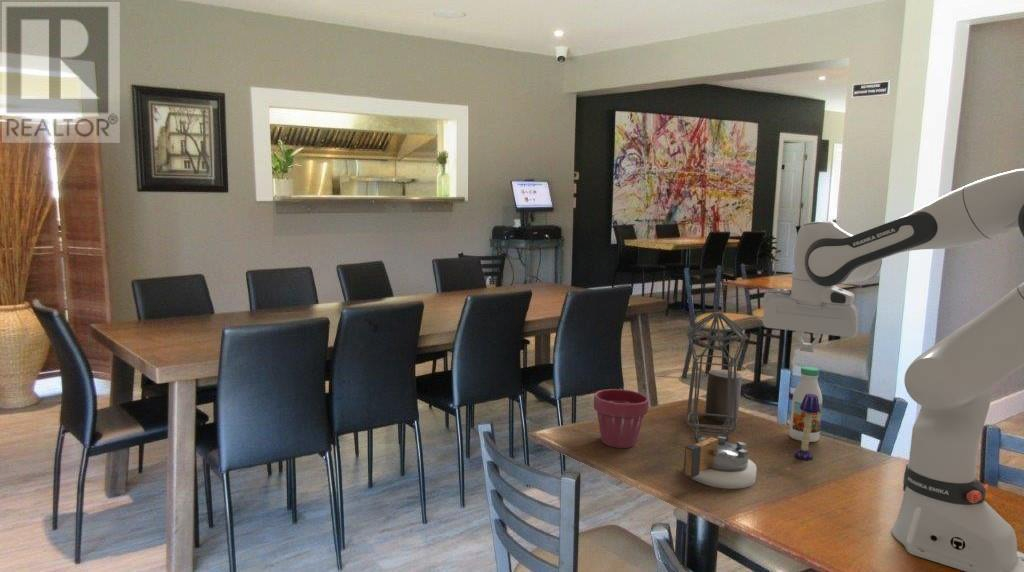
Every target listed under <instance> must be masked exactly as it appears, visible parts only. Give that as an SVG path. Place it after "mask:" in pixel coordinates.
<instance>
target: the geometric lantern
mask: <svg viewBox="0 0 1024 572" xmlns="http://www.w3.org/2000/svg"><path fill="white" fill-rule="evenodd" d="M711 320H712V322H711V325H710V327H709V328H708V327H705V326H706V325H707V324H708V323H709V322H710V321H711ZM724 323H725V324H726V325H727V327H729V328H727V329H726V328H725V325H724ZM720 325H721V328H722V330H723V331H722V330H720ZM716 328H717V330H716ZM703 330H704V331H708V333H706V332H704V331H703ZM698 332H699V333H701V334H699V333H698ZM712 332H713V335H711V333H712ZM727 332H731V333H730V334H728V335H727V336H726V334H727ZM745 332H746V330H745V329H744V328H742V327H741V326H740V325H739V324H738V323H736V322H734V321H733V320H732V319H730V318H729V317H728V316H726V315H725V313H723V312H720V311H717V312H715V311H714V312H712V313H711V314H709V315H707V316H705V317H704V318H701V319H700V320H698V321H696V322H695V323H693V324H691V325H689V326H688V332H687V333H686V335H687V338H688V341H689V344H690V349H691V355H692V358H693V361H692V368H691V375H690V384H689V392H688V401H687V408H686V418H685V419H686V420H685V424H686V425H687V426H689V427H690V428H691V429H692V430H693V431H694V432H695V440H696V441H698V439H699V438H701V437H702V434H703V435H704V434H705V435H710V436H711V435H713V436H723V437H726V442H729V435H730V434H731V433H733V432H734V431H735V430H737V427H738V426H737V422H738V420H737V387H736V372H737V366H738V365H739V364H738V359H739V357H740V354H741V353H742V352H741V351H742V349H745V342H746V340H749V337H748V336H747V335H746V334H745ZM716 334H717V335H716ZM721 334H723V337H721ZM734 334H735V335H736V336H733V335H734ZM699 337H701V338H706V340H707V344H706V343H705V342H704V341H702V340H701V339H700V338H699ZM693 338H694V339H695V340H697V341H698V342H700V343H701V344H702V345H703V346H704V347H705V349H704V350H703V351H702V352H701V353H700V354H697V353H696V349H695V346H694V344H693ZM727 340H730V341H728V342H726V343H724V342H725V341H727ZM713 341H716V342H718V346H711V344H712V342H713ZM737 341H740V342H739V343H740V344H739V346H738V347H737V349H736V352H735V356H734V357H733V356H731V354H730V353H729V351H728V349H727V346H728V345H730V344H733V343H735V342H737ZM723 348H724V349H723ZM714 349H719V350H721V353H722V354H723V356H722V355H721V356H719V355H710V354H708V355H707V354H705V353H706V352H707V350H714ZM725 351H726V352H727V354H726V353H725ZM727 355H728V356H727ZM703 357H705V358H706V357H707V358H722V359H725V360H726V363H727V364H722V363H715V362H714V363H712V362H703ZM699 359H700V361H699ZM729 359H730V360H729ZM703 365H713V366H723V367H727V370H728V410H727V415H718V414H707V413H705V412H698V406H699V395H700V385H701V377H702V367H703ZM732 371H733V372H734V417H732V416H730V397H731V380H732ZM693 394H694V396H693ZM693 397H694V399H693ZM692 400H693V401H692ZM692 402H693V412H692V411H691V410H692ZM692 415H693V416H692ZM698 415H699V416H700V415H701V416H705V415H708V416H719V417H727V419H726V421H725V422H723V425H719V424H718V425H715V424H705V423H704V424H703V423H700V422H699V418H698ZM690 418H691V419H692V422H689V420H690ZM730 418H731V419H734V421H733V422H730ZM733 424H734V425H733ZM725 425H726V426H725ZM731 425H733V427H731ZM694 427H695V428H694ZM700 428H706V429H714V430H721V431H713V430H704V429H700ZM698 437H699V438H698Z"/></svg>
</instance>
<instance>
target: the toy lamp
mask: <svg viewBox="0 0 1024 572" xmlns="http://www.w3.org/2000/svg"><path fill="white" fill-rule="evenodd" d="M800 409H801V410H803V411H805V414H806V416H805V422H804V429H803V432H804V433H803V436H802V437H803V439H802V441H801V445H800V449H798V450H796V452H795V453H794V458H795V457H796V458H797V459H799V460H802V459H803V460H804V461H810V460H811V459H812V460H813V458H814V457H813V454H812V453H811V452H810V451H809V444H810V442H809V438H810V432H811V429H810V428H811V422H812V415H813V413H818V412H819V411H820V408H819V401H818V396H817V395H814V394H806V395H805V396H804V398H803V401H802V403H801V406H800Z"/></svg>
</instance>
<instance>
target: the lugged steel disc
mask: <svg viewBox="0 0 1024 572" xmlns="http://www.w3.org/2000/svg"><path fill="white" fill-rule="evenodd" d="M697 439H698V440H697V443H695V444H694V443H690V444H688V445H686V446H685V447H684V460H683V472H682V473H683V474H682V475H683V476H686V477H687V478H691V479H692V478H693V477H695V476H697V475H699V472H700V471H703V470H705V469H707V468H709V469H713V470H717V471H724V472H737V471H742V470H745V469H746V468H747V467H748V459H749V451H748V450H747V443H746V442H744V441H737V442H736V443H733V442H729V441H728V442H727V441H726V437H724V436H720V435H717V438H715V437H712V436H711V437H709V438H707V437H704V436H701V438H700V437H699V438H697Z"/></svg>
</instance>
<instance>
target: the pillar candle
mask: <svg viewBox="0 0 1024 572" xmlns="http://www.w3.org/2000/svg"><path fill="white" fill-rule="evenodd" d="M742 377H743V375H742V374H741V373H739V372H737V371H736V387H737V421H738V420H739V411H740V409H739V408H740V399H741V388H742ZM706 385H707V387H706V397H705V411H704V413H707V414H718V415H727V410H728V369H726V368H724V369H720V368H719V369H710V370H709V371H708V375H707V384H706ZM704 416H705V417H706V418H707V419H709V420H711V421H713V420H714V422H720V423H725V421H726V419H727V417H719V416H708V415H704ZM730 416H732V417H734V370H732V380H731V397H730ZM733 421H734V419H731V418H730V423H731V422H733Z"/></svg>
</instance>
